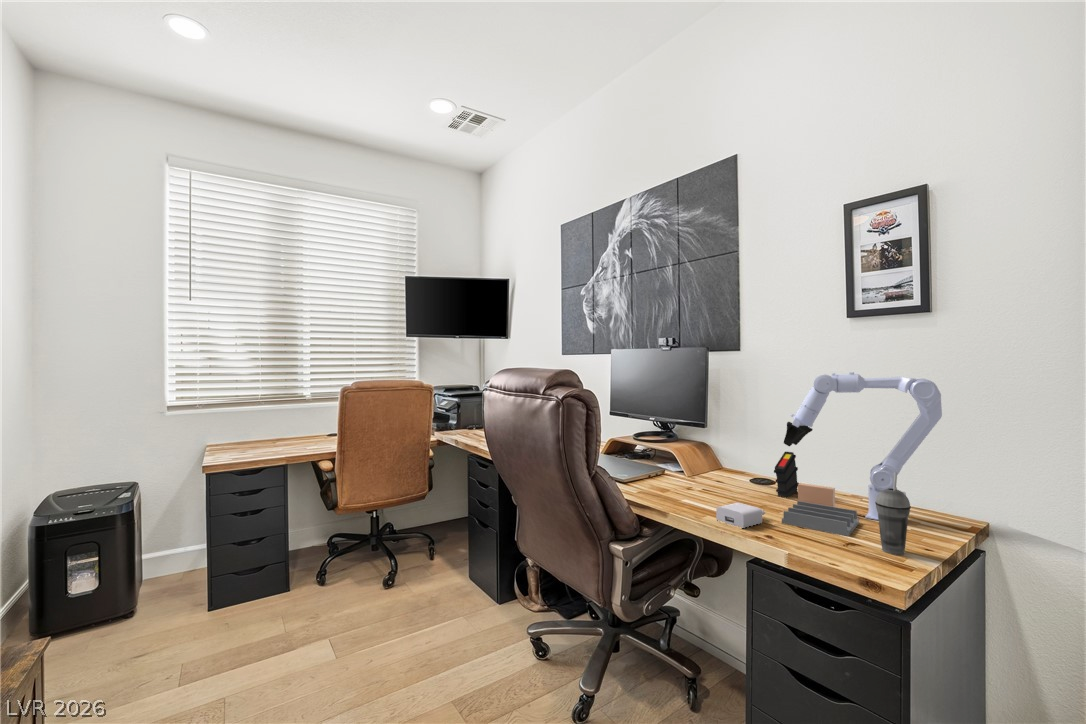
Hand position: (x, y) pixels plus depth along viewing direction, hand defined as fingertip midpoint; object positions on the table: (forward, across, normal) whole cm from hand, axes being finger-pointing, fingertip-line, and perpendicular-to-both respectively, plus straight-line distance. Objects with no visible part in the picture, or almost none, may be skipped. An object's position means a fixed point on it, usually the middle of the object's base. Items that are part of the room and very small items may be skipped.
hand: (789, 444), depth 165 cm
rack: (+14, +14, +20) cm, 28 cm away
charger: (+22, +26, +5) cm, 34 cm away
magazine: (+20, -14, +4) cm, 25 cm away
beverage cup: (+6, +27, +38) cm, 46 cm away
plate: (+15, +1, +16) cm, 22 cm away
